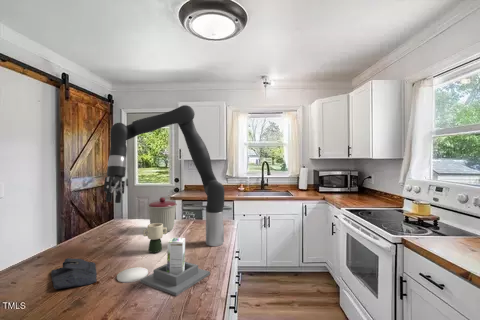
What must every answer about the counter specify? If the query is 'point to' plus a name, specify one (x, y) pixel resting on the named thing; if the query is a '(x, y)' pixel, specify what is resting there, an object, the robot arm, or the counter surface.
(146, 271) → the rubber pad
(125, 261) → the counter surface
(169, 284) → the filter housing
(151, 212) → the canister
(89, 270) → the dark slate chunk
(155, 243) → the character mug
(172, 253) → the syrup box
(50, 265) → the counter surface
